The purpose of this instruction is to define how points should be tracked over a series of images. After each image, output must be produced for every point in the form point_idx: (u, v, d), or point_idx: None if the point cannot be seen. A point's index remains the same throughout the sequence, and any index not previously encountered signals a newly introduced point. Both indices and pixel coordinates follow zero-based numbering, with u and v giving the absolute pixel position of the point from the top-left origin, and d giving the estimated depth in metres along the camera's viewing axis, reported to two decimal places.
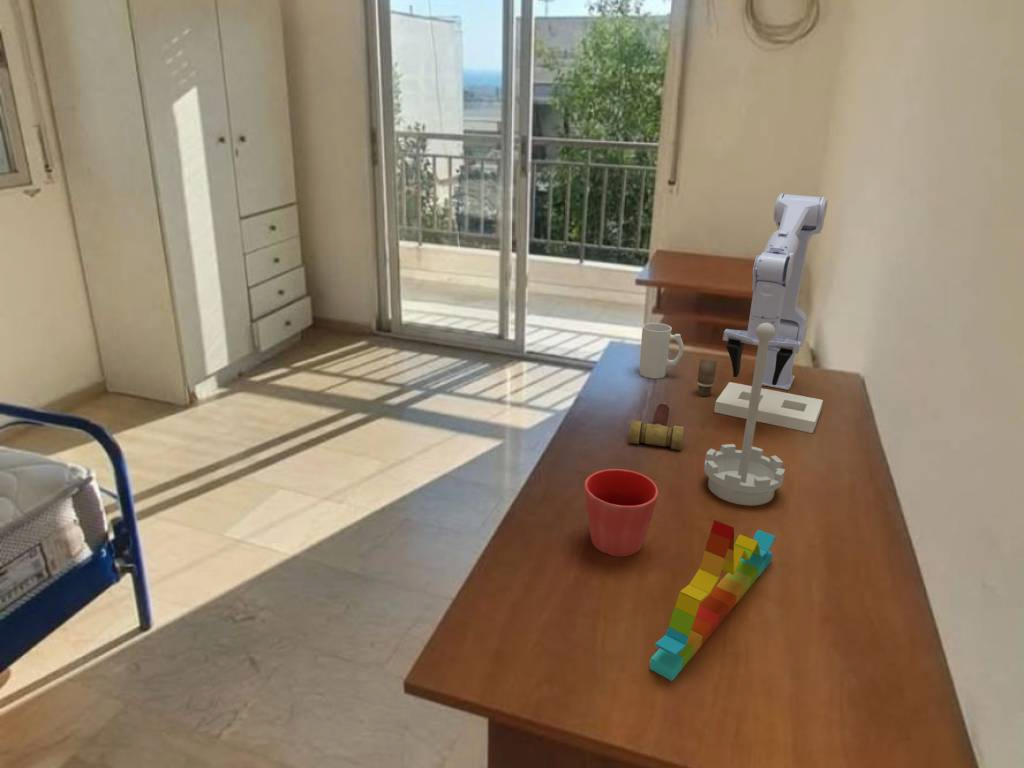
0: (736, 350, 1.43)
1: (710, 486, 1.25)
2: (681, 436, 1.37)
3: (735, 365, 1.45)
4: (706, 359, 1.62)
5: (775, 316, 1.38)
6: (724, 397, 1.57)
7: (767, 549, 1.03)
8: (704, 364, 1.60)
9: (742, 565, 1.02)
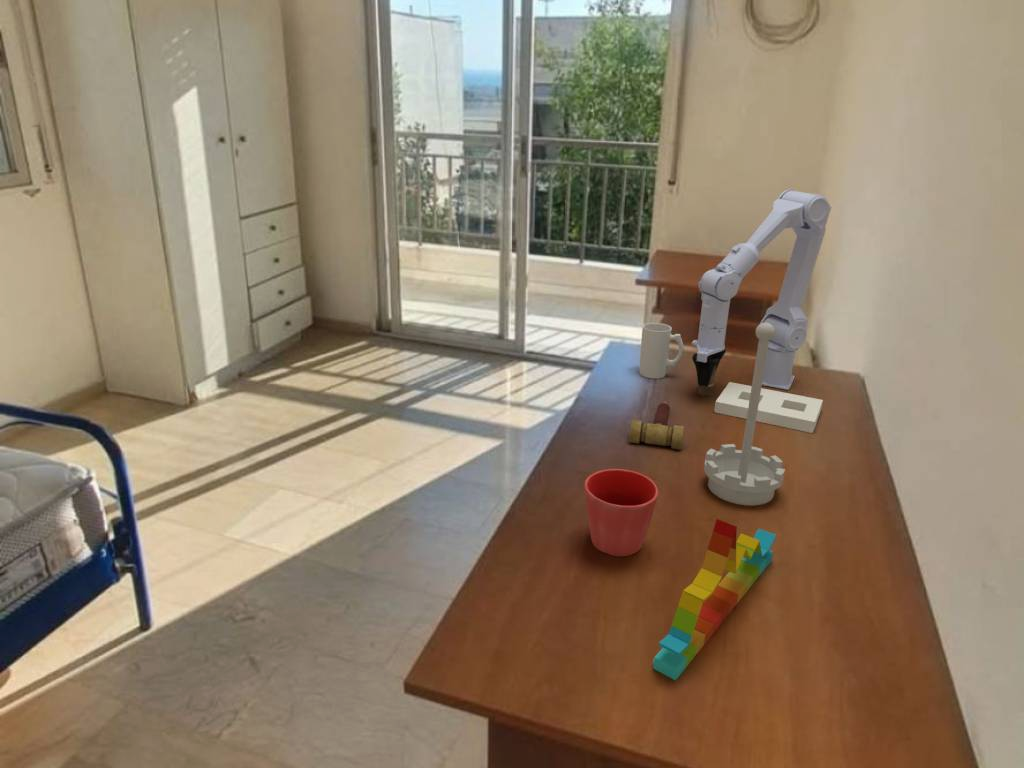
0: None
1: (710, 486, 1.25)
2: (681, 436, 1.37)
3: None
4: None
5: (712, 326, 1.55)
6: (724, 397, 1.57)
7: (768, 548, 1.03)
8: None
9: (743, 564, 1.02)
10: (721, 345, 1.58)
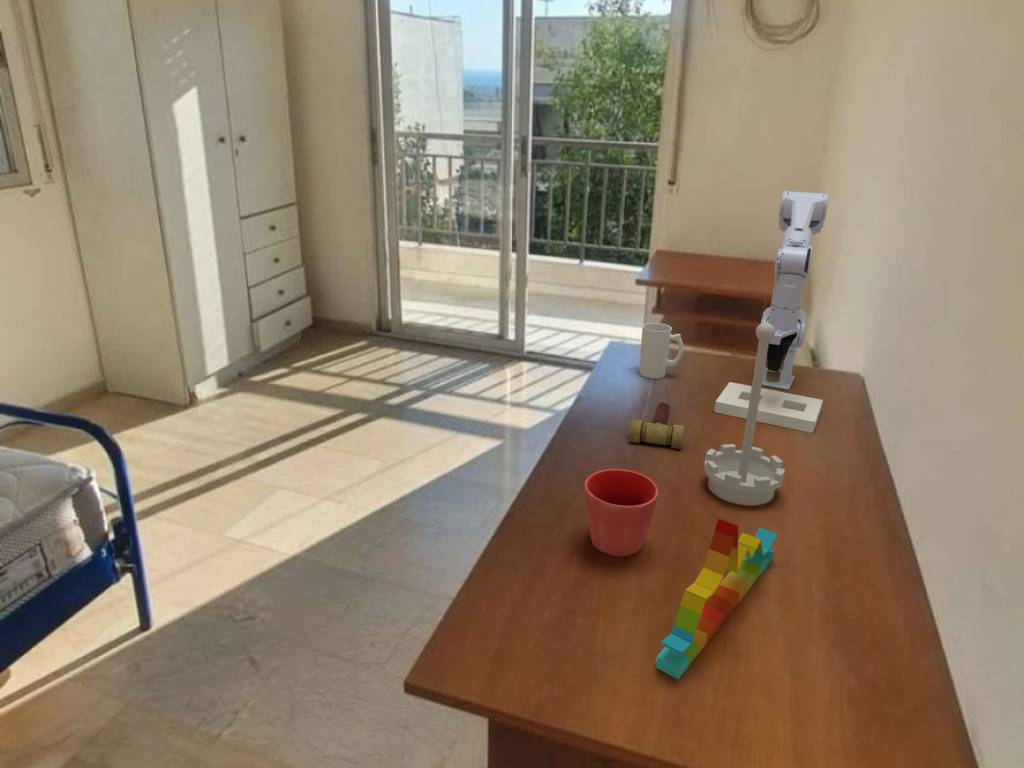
0: None
1: (710, 486, 1.25)
2: (681, 435, 1.37)
3: None
4: None
5: (796, 306, 1.45)
6: (724, 397, 1.57)
7: (769, 547, 1.04)
8: None
9: (744, 563, 1.03)
10: (794, 327, 1.47)
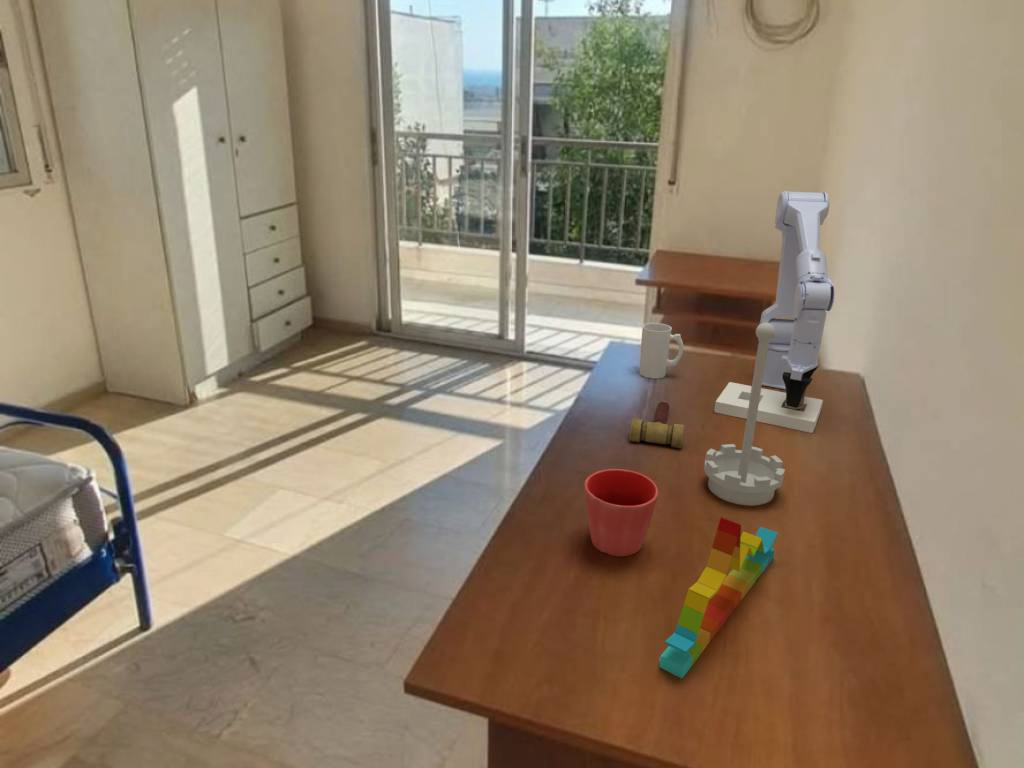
0: None
1: (710, 486, 1.25)
2: (681, 434, 1.37)
3: None
4: None
5: (819, 340, 1.45)
6: (724, 397, 1.57)
7: (770, 546, 1.04)
8: None
9: (746, 562, 1.03)
10: (815, 361, 1.47)
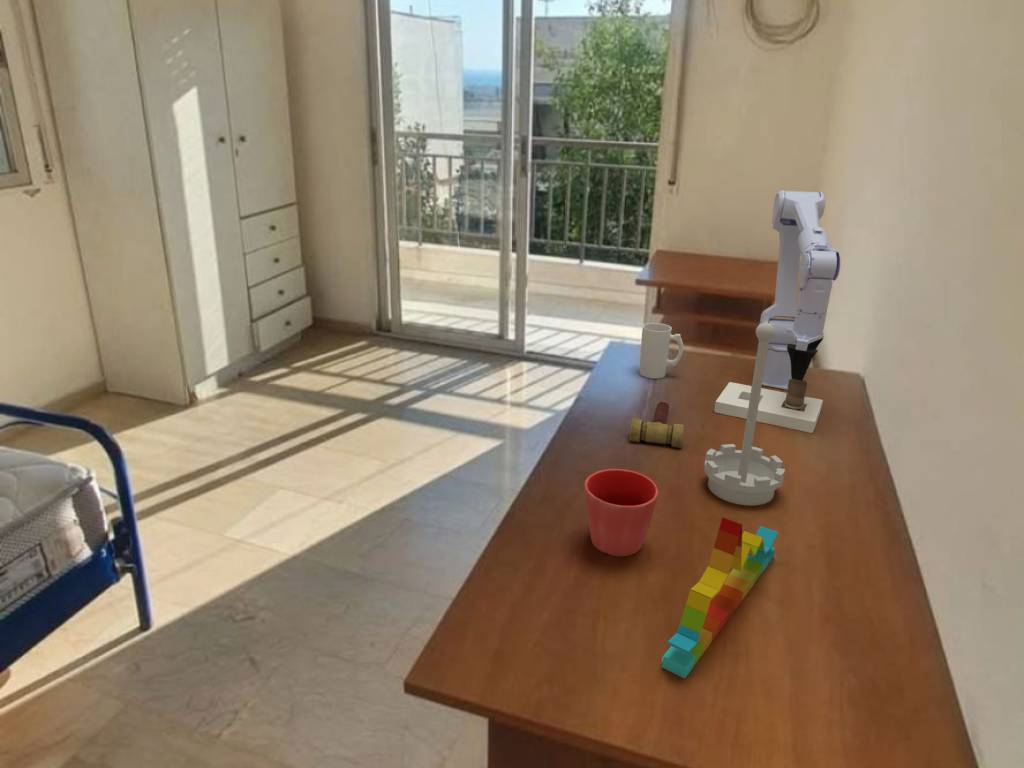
0: None
1: (710, 486, 1.25)
2: (681, 434, 1.38)
3: None
4: None
5: (825, 311, 1.43)
6: (724, 397, 1.57)
7: (770, 545, 1.04)
8: (794, 385, 1.50)
9: (746, 561, 1.03)
10: (821, 332, 1.45)
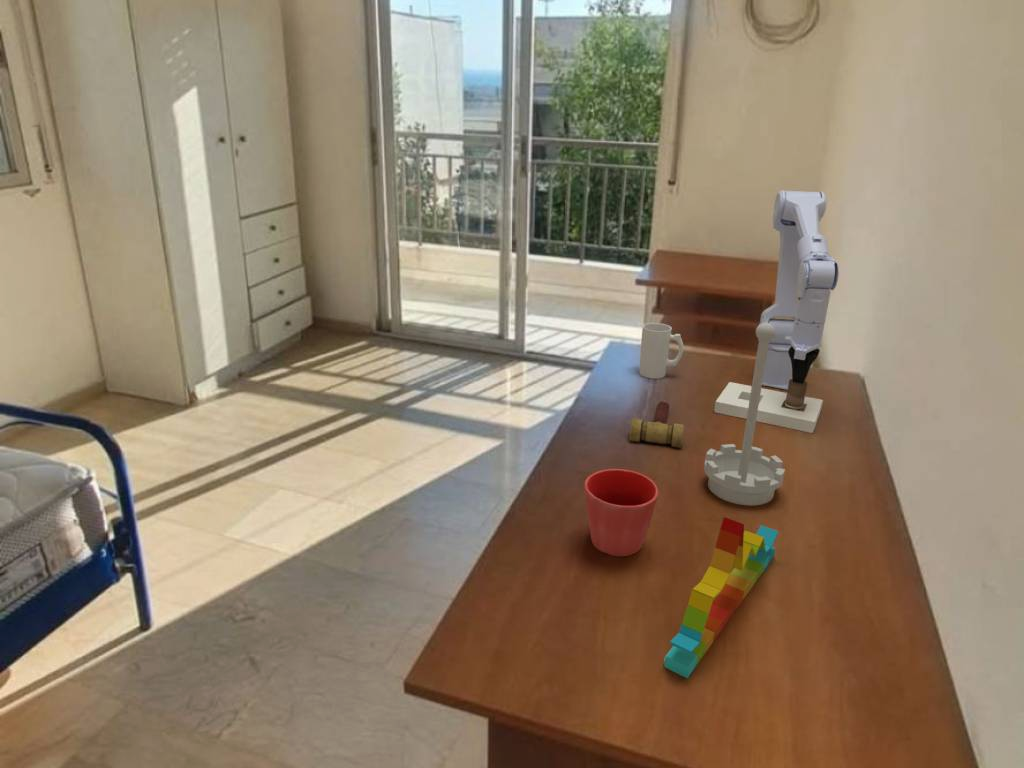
0: None
1: (710, 486, 1.25)
2: (681, 434, 1.38)
3: None
4: None
5: (823, 320, 1.44)
6: (724, 397, 1.57)
7: (771, 544, 1.04)
8: (794, 385, 1.50)
9: (747, 561, 1.03)
10: (819, 341, 1.45)
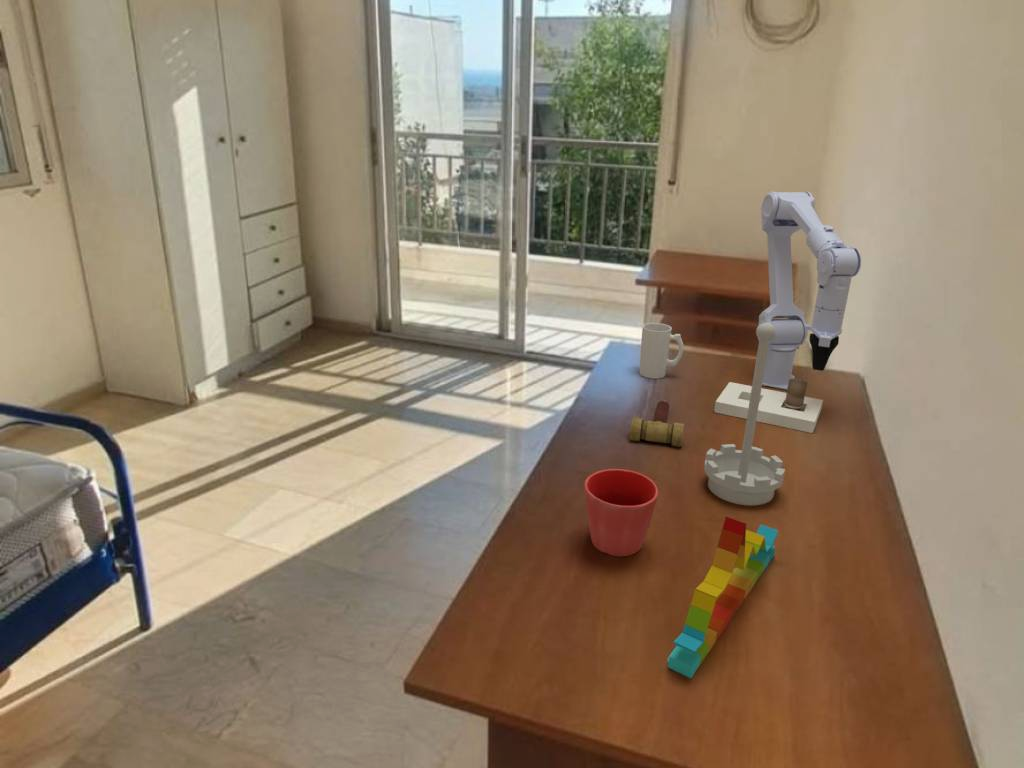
0: None
1: (710, 486, 1.25)
2: (681, 433, 1.38)
3: None
4: (795, 379, 1.52)
5: (845, 306, 1.46)
6: (724, 397, 1.57)
7: (771, 543, 1.04)
8: (794, 385, 1.50)
9: (747, 560, 1.03)
10: (840, 328, 1.47)
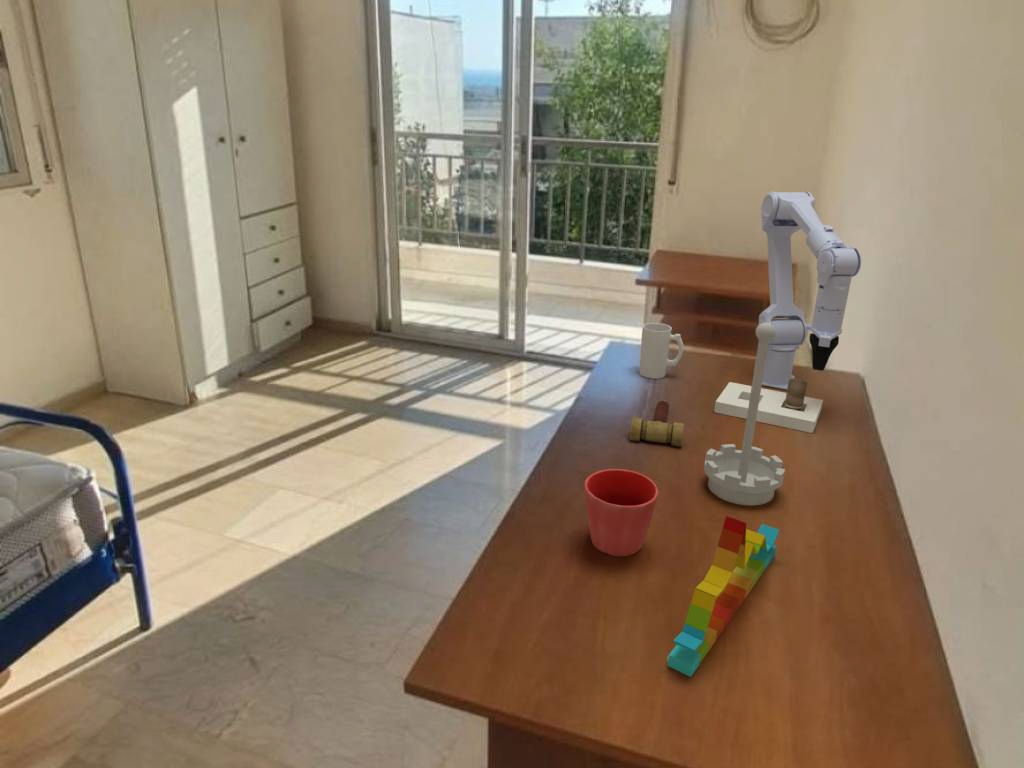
0: None
1: (710, 486, 1.25)
2: (681, 433, 1.38)
3: None
4: (795, 379, 1.52)
5: (845, 306, 1.46)
6: (724, 397, 1.57)
7: (772, 543, 1.05)
8: (794, 385, 1.50)
9: (748, 559, 1.04)
10: (840, 328, 1.47)
